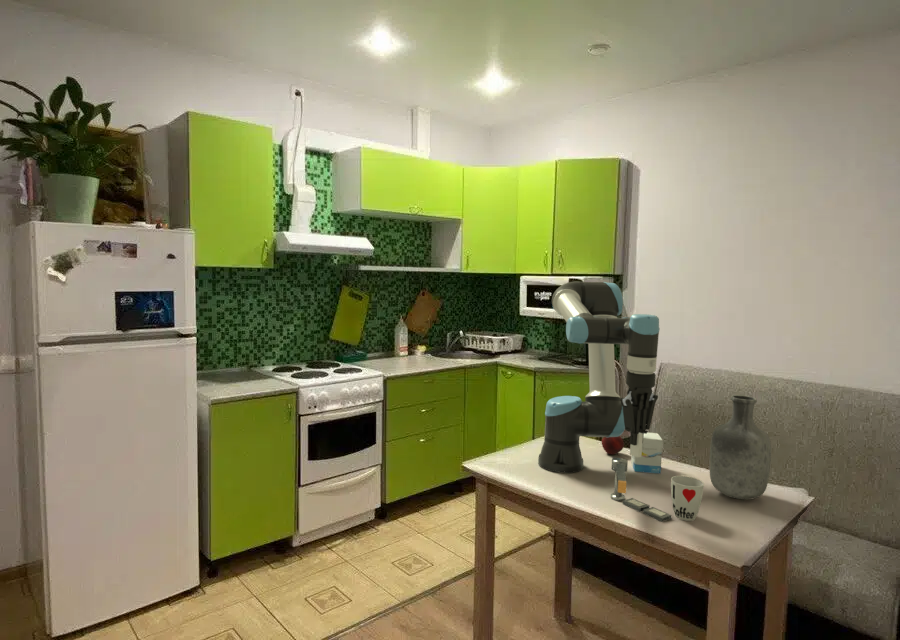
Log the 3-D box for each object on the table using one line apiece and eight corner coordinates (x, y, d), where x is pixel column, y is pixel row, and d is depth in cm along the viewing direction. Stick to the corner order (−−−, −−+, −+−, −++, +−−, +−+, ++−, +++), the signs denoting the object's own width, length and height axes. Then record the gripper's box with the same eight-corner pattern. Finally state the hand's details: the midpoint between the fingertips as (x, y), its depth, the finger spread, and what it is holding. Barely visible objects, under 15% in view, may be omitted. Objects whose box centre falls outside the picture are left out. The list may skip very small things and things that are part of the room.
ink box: (661, 474, 182) (663, 439, 181) (634, 471, 183) (636, 437, 182) (656, 465, 190) (658, 432, 189) (630, 463, 192) (632, 430, 191)
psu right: (643, 513, 150) (643, 509, 150) (652, 510, 152) (652, 506, 152) (661, 521, 145) (662, 517, 145) (671, 518, 147) (671, 514, 147)
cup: (663, 516, 149) (666, 480, 148) (676, 507, 155) (678, 473, 154) (694, 526, 143) (696, 489, 142) (706, 517, 149) (708, 481, 148)
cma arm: (611, 466, 162) (611, 457, 162) (626, 468, 161) (627, 458, 161) (613, 491, 142) (613, 481, 142) (630, 494, 141) (631, 483, 141)
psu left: (622, 503, 156) (622, 500, 156) (632, 501, 158) (632, 497, 158) (640, 511, 151) (640, 508, 151) (649, 509, 153) (649, 505, 153)
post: (607, 497, 161) (609, 469, 160) (616, 494, 163) (618, 467, 162) (618, 502, 157) (620, 473, 157) (627, 499, 160) (629, 471, 159)
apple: (609, 449, 206) (610, 428, 206) (627, 455, 200) (628, 433, 200) (597, 453, 202) (598, 431, 201) (616, 458, 196) (617, 437, 195)
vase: (769, 494, 167) (777, 397, 165) (764, 511, 154) (773, 406, 151) (712, 481, 176) (718, 389, 174) (703, 497, 163) (709, 397, 160)
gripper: (636, 376, 142) (630, 464, 145) (668, 372, 149) (662, 456, 151) (613, 370, 148) (608, 455, 151) (645, 367, 155) (639, 447, 158)
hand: (635, 455), depth 151 cm, fingers closed
